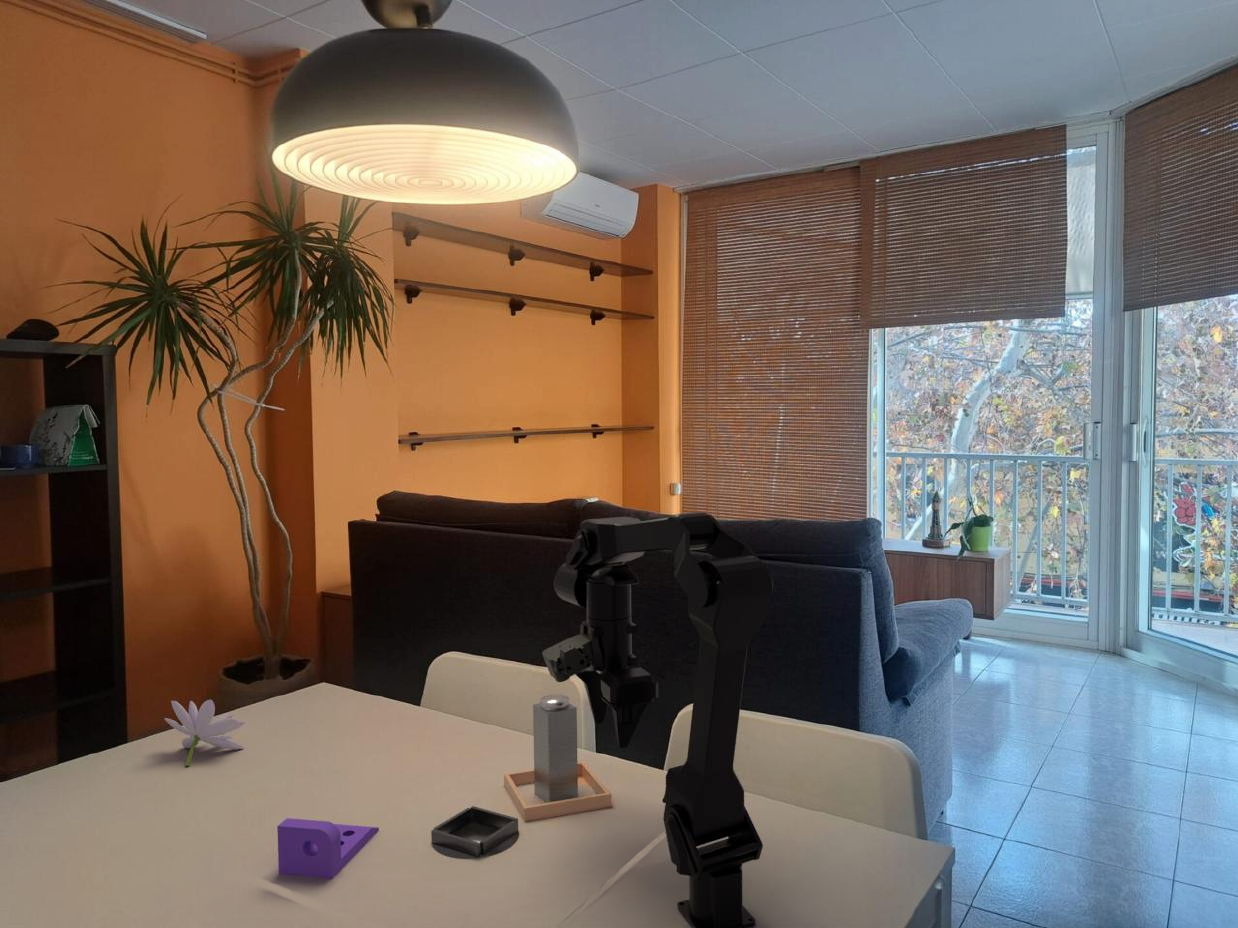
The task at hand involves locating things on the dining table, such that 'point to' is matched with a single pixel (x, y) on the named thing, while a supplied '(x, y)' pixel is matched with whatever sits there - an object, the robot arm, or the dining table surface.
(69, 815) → the dining table surface
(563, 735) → the strut
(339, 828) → the bracket
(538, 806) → the tray
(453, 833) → the socket cup
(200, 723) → the water lily
